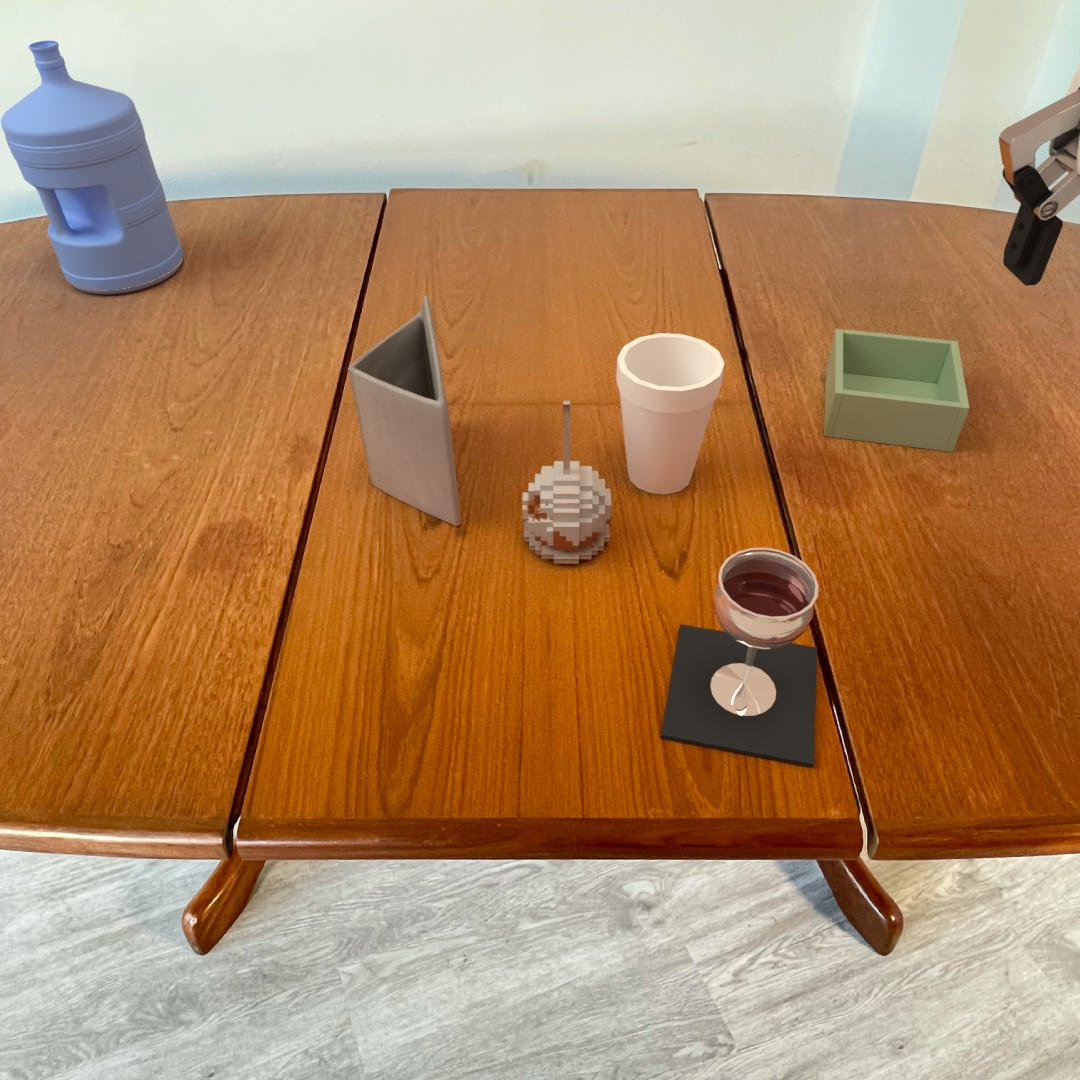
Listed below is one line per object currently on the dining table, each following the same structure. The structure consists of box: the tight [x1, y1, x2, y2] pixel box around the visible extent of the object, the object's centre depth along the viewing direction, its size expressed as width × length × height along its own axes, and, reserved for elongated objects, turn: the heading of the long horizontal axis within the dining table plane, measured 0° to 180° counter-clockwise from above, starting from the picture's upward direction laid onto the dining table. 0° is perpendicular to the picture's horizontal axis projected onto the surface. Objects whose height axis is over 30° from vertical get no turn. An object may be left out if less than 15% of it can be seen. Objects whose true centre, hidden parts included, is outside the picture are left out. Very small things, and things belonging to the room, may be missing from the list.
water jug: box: [0, 40, 184, 295], centre depth 112 cm, size 16×16×28 cm
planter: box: [347, 295, 462, 527], centre depth 81 cm, size 16×8×19 cm, turn 12°
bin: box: [823, 328, 970, 453], centre depth 92 cm, size 13×13×5 cm
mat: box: [660, 624, 818, 768], centre depth 68 cm, size 11×11×1 cm
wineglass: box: [710, 547, 819, 716], centre depth 63 cm, size 7×7×12 cm
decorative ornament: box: [521, 400, 612, 565], centre depth 76 cm, size 8×8×15 cm
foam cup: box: [615, 332, 726, 495], centre depth 83 cm, size 10×9×13 cm
